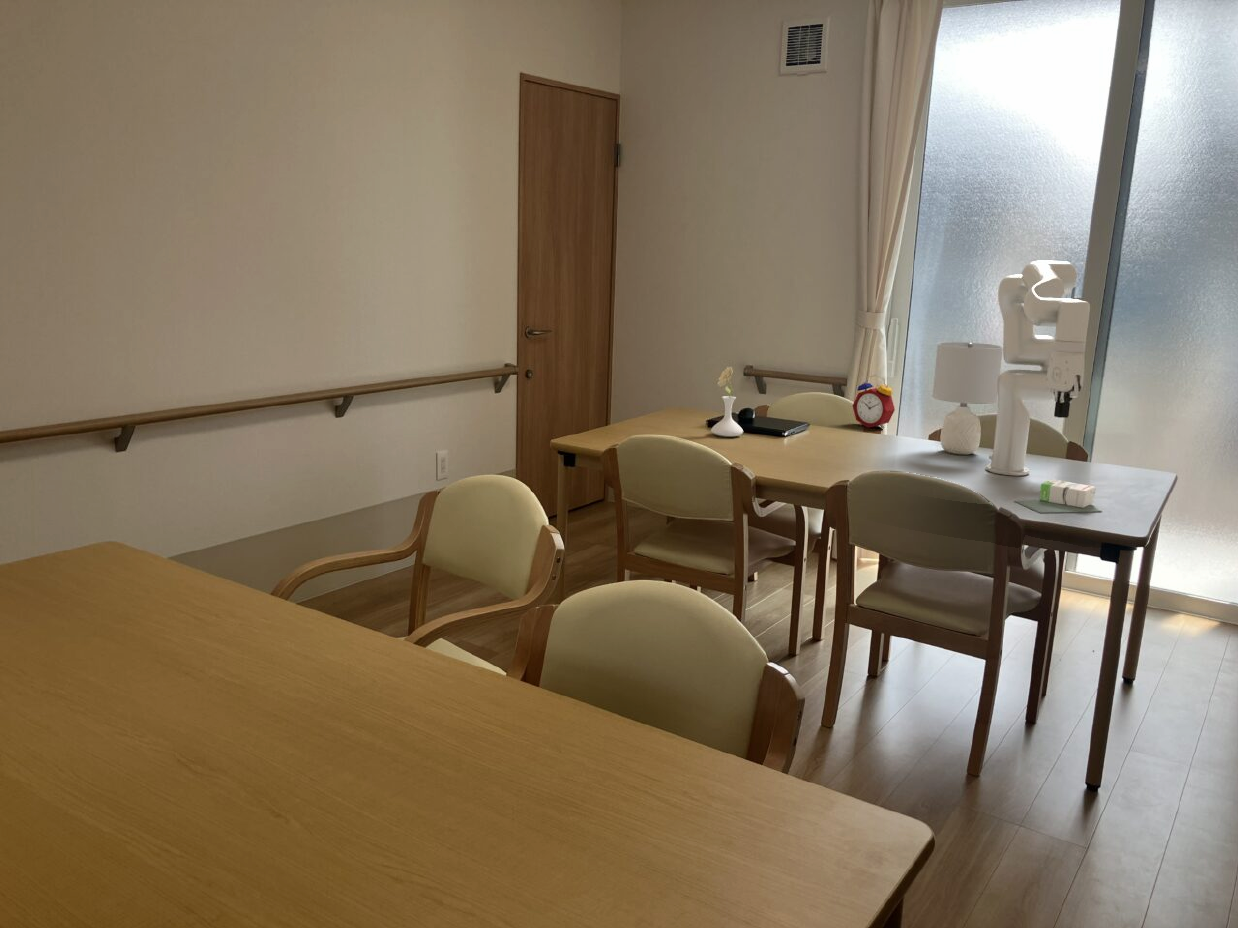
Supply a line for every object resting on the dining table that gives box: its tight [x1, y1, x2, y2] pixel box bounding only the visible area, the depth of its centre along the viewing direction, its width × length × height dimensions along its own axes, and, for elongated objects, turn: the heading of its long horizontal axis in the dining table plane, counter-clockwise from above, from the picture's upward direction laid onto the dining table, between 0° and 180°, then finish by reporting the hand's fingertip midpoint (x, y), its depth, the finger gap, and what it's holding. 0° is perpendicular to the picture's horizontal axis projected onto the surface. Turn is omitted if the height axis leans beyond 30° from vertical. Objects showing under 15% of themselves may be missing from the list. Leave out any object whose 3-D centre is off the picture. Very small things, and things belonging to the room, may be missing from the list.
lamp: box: [932, 341, 1003, 456], centre depth 331 cm, size 20×20×37 cm
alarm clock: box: [852, 374, 896, 430], centre depth 377 cm, size 15×9×20 cm, turn 43°
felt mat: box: [1013, 499, 1103, 514], centre depth 267 cm, size 12×18×1 cm, turn 100°
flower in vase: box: [710, 366, 744, 437], centre depth 349 cm, size 13×11×25 cm
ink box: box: [1038, 478, 1097, 508], centre depth 270 cm, size 9×5×12 cm
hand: (1061, 417), depth 264 cm, fingers closed
